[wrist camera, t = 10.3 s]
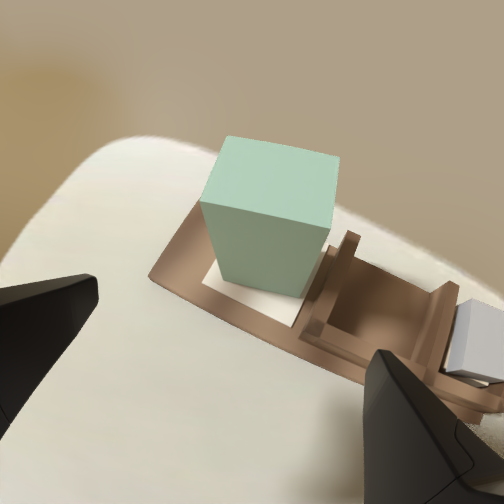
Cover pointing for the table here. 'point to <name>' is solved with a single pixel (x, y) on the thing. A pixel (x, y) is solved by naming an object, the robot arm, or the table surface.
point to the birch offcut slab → (446, 356)
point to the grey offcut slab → (478, 342)
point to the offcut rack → (331, 314)
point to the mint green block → (269, 212)
